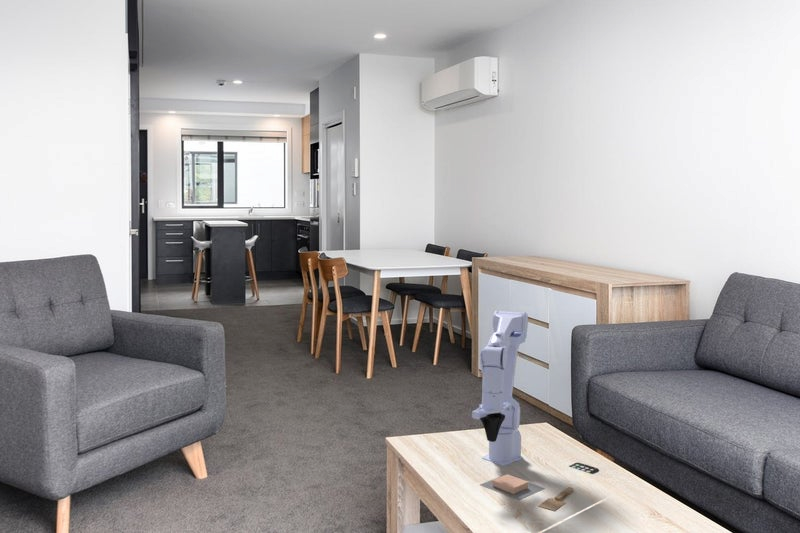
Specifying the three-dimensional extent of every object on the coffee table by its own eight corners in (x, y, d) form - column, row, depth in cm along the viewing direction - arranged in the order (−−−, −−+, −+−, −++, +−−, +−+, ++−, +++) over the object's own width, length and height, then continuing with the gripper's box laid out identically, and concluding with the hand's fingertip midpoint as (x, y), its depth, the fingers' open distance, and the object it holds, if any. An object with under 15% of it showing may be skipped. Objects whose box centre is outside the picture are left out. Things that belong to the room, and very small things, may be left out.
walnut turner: (562, 489, 186) (562, 485, 186) (578, 494, 183) (578, 489, 183) (538, 508, 175) (538, 503, 174) (554, 513, 172) (554, 508, 172)
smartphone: (546, 476, 194) (577, 461, 204) (546, 478, 194) (577, 464, 204) (569, 484, 189) (600, 469, 199) (569, 486, 189) (600, 471, 199)
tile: (507, 474, 190) (492, 480, 186) (528, 481, 185) (513, 488, 181) (507, 480, 190) (492, 486, 186) (528, 488, 185) (513, 494, 181)
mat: (506, 475, 195) (506, 473, 195) (545, 489, 185) (545, 488, 185) (479, 486, 188) (479, 484, 188) (518, 501, 178) (518, 500, 178)
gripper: (497, 384, 199) (496, 432, 200) (463, 392, 189) (462, 442, 190) (518, 388, 194) (517, 437, 195) (484, 397, 184) (483, 448, 185)
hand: (491, 440), depth 192 cm, fingers closed
